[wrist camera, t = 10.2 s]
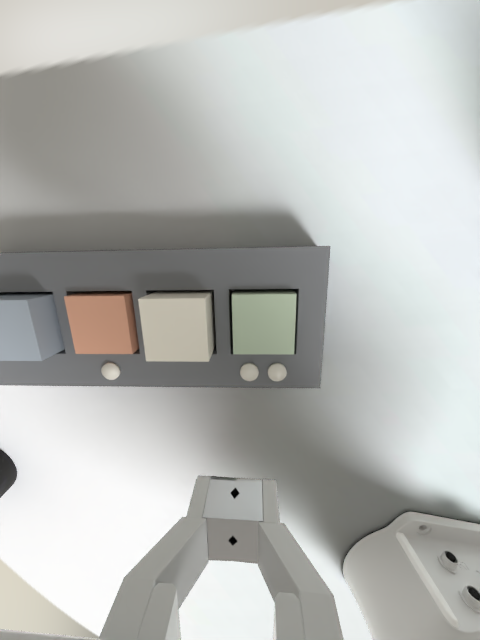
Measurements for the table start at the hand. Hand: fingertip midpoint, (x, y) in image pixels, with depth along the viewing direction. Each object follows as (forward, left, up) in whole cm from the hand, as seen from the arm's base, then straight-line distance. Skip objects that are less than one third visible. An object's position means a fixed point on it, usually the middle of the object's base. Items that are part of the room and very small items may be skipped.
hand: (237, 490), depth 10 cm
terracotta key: (+12, -3, -16) cm, 20 cm away
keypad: (+9, -3, -17) cm, 19 cm away
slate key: (+19, -3, -14) cm, 24 cm away
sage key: (-1, -3, -16) cm, 16 cm away
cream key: (+5, -3, -14) cm, 16 cm away
